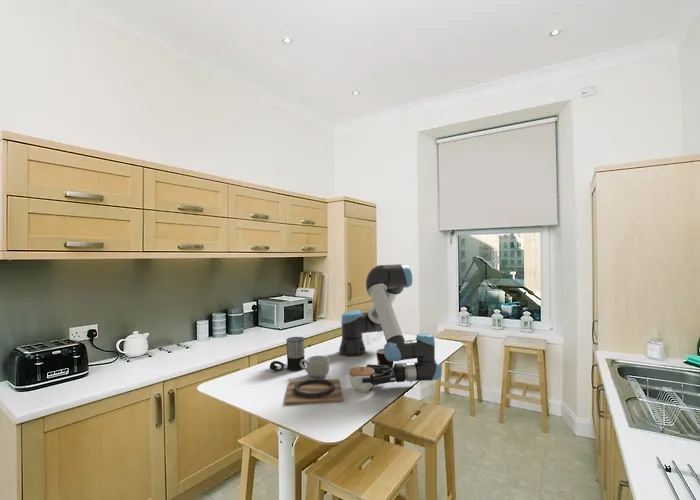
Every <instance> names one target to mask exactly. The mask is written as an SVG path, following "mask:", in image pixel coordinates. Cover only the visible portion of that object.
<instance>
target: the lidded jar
mask: <svg viewBox="0 0 700 500" xmlns="http://www.w3.org/2000/svg"><path fill="white" fill-rule="evenodd" d="M354 367H355V368H352V369H351V368H350V369H349V380H350V381H349V383H350V384H351V387H352V388H353V389H355V391H356V392H358V393H366V392H369V391H370V389H371V388H372V387H373V386H374V385H373V384H371V383H364V384H354V377H356V376H370V375H372V376H375V375H376V374H375V370H374V369H373V368H370V367H365V366H354Z"/></svg>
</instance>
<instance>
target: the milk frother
mask: <svg viewBox="0 0 700 500" xmlns="http://www.w3.org/2000/svg"><path fill="white" fill-rule="evenodd" d="M305 340H306V338H305V337H304V336H292V337H288V338H286V340H285V341H286V346H285V347H286V359H287V363H283V362H281V361H278V360H274V361H272V362H270V365H269V368H270V370H271V371H273V372H281V371H283V370H284V369H285V367H286V369H287V371H290V372H298V371H302V370H304V369H303V368H302V367H301V366H300V361H301V360H302V359H305ZM278 365H280V368H279V367H278ZM302 365H303V366H304V367H306V363H305V362H302Z"/></svg>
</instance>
